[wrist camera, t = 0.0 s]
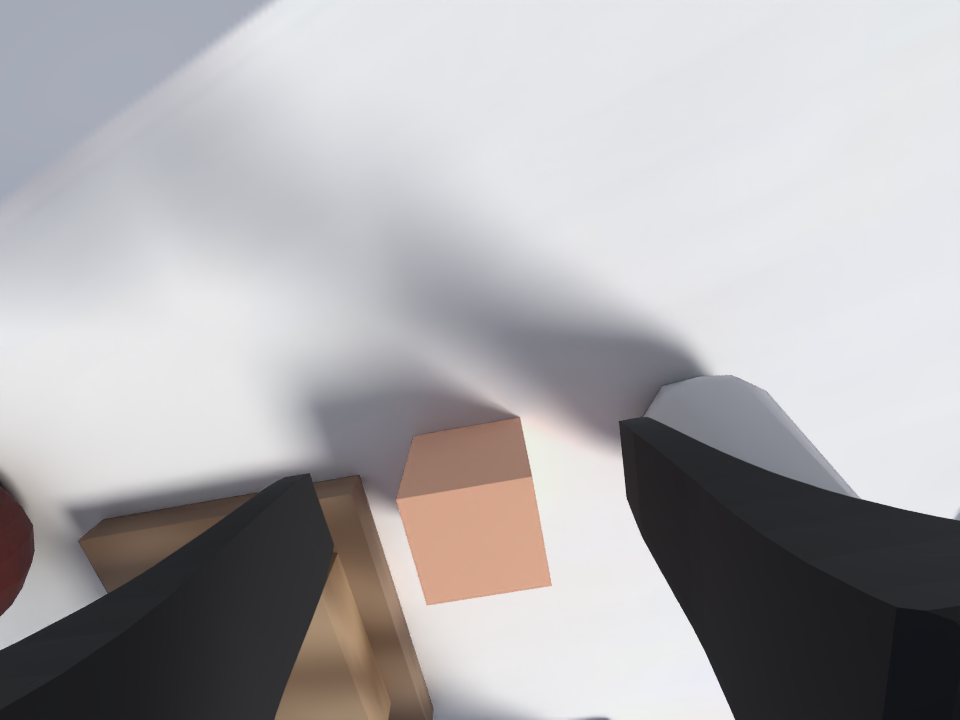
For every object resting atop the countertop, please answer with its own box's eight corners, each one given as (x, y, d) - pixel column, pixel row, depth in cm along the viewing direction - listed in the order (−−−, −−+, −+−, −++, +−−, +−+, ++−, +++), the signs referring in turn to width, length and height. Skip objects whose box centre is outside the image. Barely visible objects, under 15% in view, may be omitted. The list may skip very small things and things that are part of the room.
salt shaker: (600, 445, 22) (763, 761, 9) (665, 337, 20) (966, 548, 8) (705, 489, 22) (983, 834, 10) (776, 389, 21) (1210, 655, 9)
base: (433, 709, 27) (426, 791, 23) (221, 740, 28) (180, 824, 24) (359, 475, 22) (334, 530, 18) (102, 519, 23) (28, 582, 19)
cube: (536, 506, 23) (551, 585, 18) (437, 523, 23) (426, 605, 18) (519, 416, 21) (532, 476, 17) (413, 434, 22) (395, 499, 17)
